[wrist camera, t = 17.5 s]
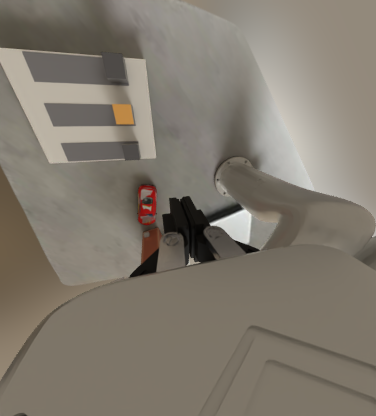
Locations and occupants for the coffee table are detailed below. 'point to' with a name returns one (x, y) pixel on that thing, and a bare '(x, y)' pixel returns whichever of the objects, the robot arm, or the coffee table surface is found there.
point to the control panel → (150, 243)
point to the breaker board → (82, 103)
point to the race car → (147, 204)
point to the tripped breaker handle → (123, 113)
